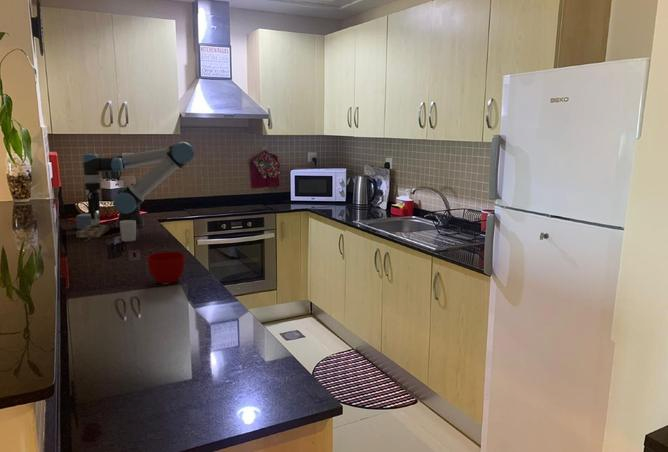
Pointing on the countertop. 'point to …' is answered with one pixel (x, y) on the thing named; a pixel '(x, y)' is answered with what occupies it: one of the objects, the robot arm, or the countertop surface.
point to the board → (92, 231)
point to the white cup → (128, 230)
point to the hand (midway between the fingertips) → (95, 224)
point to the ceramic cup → (166, 266)
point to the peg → (96, 220)
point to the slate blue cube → (83, 220)
